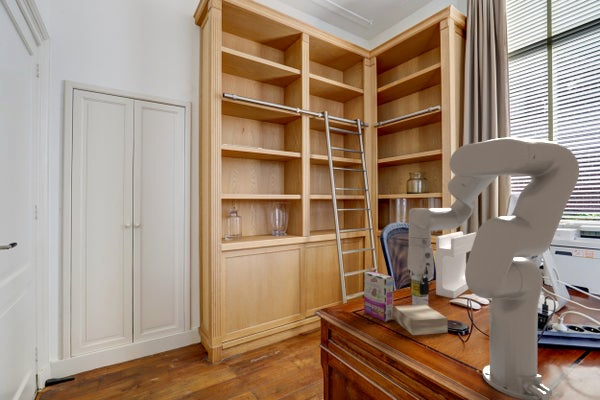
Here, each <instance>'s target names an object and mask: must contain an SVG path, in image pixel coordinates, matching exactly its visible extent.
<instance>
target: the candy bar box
mask: <svg viewBox="0 0 600 400" xmlns="http://www.w3.org/2000/svg"><path fill="white" fill-rule="evenodd" d="M363 275H364V277H363V278H364V286H363V287H364V288H363V289H364V290H363V291H364V295H363V296H364V301H363V303H364V304H363V308H364V311H363V312H364V314H366V315H368V316H370V317H373V318H375V319H378V320H380V321H382V322H385V323H386V322H389V321H392V320H394V276H392V275H391V276H390V275H387V274H383V273H380V272H376V271H373V270H372V271H367V272H364V274H363Z"/></svg>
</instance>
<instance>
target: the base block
mask: <svg viewBox="0 0 600 400" xmlns="http://www.w3.org/2000/svg"><path fill="white" fill-rule="evenodd" d="M393 320H394V321H395V322H397V324H399V325H400V327H402V328H403V329H404V330H406V331H407V332H408V333H410V334H411V335H412V336H420V335H421V336H423V335H433V334H446V333H448V331H449V330H448V327H449V326H448V324H449V323H448V322H449V320H448V317H446V315H444V314H442V313H440V312H439V311H437V310H435V309H433V308H432V307H431V306H429V305H428V306H427V305H412V304H411V305H409V304H408V305H396V306H395V305H393Z"/></svg>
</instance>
